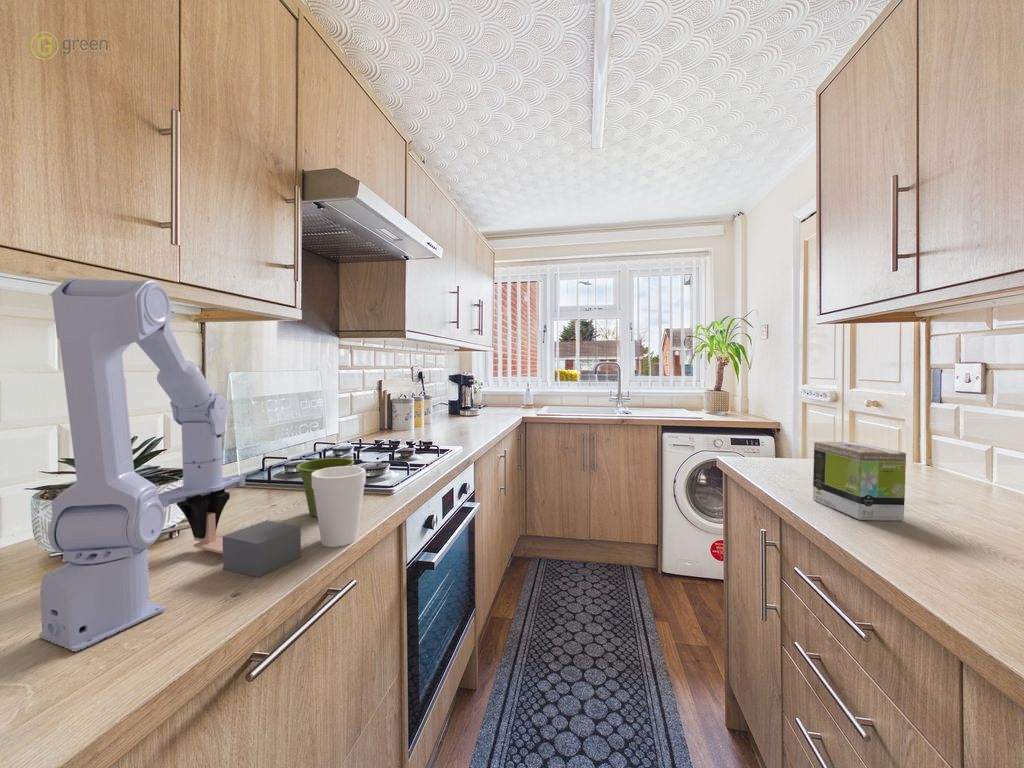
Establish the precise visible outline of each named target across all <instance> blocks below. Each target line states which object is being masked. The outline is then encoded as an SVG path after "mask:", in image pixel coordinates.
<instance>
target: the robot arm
mask: <svg viewBox="0 0 1024 768" xmlns="http://www.w3.org/2000/svg"><path fill="white" fill-rule="evenodd" d="M51 298H52V299H51V300H52V307H53V313H54V314H53V315H54V316H53V317H54V323H55V331H56V338H57V340H59V347H60V354H61V361H62V371H63V379H64V387H65V395H66V403H67V411H68V412H67V413H68V419H69V420H68V421H69V428H70V429H69V430H70V437H71V443H72V452H73V460H74V468H75V477H76V482H74V483H73V484H72V485H70V486H69V487H68V488H66V489H64V490H63V491H62V492H60V493H59V494H58V495H57V496H56V497H55V498H54V499H53V500H52V501H51V502H50V503H51V508H52V509H51V513H52V514H51V519H50V522H49V525H48V530H47V537H48V541H49V545H50V547H51V548H52V549H53V550H54V551H55V552H57V553H59V554H62V558H63V559H62V560H63V562H66V563H65V564H64V565H62V566H61V567H58V568H55V569H54V570H51V571H48V572H47V573H45V574H44V575H43V577H42V579H41V583H40V590H39V591H40V611H41V613H40V614H41V631H40V633H39V634H38V637H39V638H40V637H41V638H40V639H42V638H43V640H45V641H47V640H48V642H49V641H51V642H50V643H52V644H54V643H55V644H54V645H56V644H58V645H57V646H59V645H60V646H59V647H61V646H63V647H65V648H64V649H66V648H68V649H70V650H73V651H74V650H75V652H77V651H76V650H79V651H81V650H83V649H86V648H88V647H89V646H92V645H94V644H97V643H99V642H100V641H103V640H105V639H106V637H107V638H109V637H111V636H114V635H115V634H117V632H118V633H119V631H120V632H121V631H124V630H125V629H128V628H130V627H133V626H135V625H136V624H139V623H141V622H143V621H145V620H147V619H149V618H152V617H153V616H156V615H158V614H160V613H162V612H164V611H165V610H167V607H166V605H164V604H161V603H157V602H154V601H150V580H149V579H150V577H149V547H150V546H152V545H153V544H154V543H155V542H156V540H157V539H158V538H159V536H161V534H162V531H163V530H164V526H165V522H166V511H165V508H168V507H170V505H175V504H176V506H177V507H178V508H179V509H180V511H181V512H182V513H183V515H184V516H185V519H186V521H187V522H188V524H189V528H190V529H191V531H192V532H191V533H192V536H193V538H194V537H195V538H200V539H202V538H205V535H206V516H207V512H212V513H215V524H216V530H217V529H218V524H219V520H220V519H221V515H222V512H223V510H224V508H225V507H226V504H227V503H228V501H229V499H231V495H230V493H231V492H229V491H226V490H228V489H229V490H230V489H233V488H236V487H245V485H246V476H245V475H243V474H235V475H231V476H226V477H225V476H224V477H223V451H222V450H223V448H222V447H223V446H222V445H223V443H222V442H223V441H222V434H223V433H224V432H225V429H226V426H225V425H226V420H227V416H228V410H229V409H228V408H229V407H228V403H227V400H226V398H225V397H224V396H223V395H220V394H219V393H218V392H214V391H213V389H212V388H211V386H210V384H209V383H208V381H207V380H206V378H205V376H204V374H203V373H202V371H201V369H200V368H199V366H198V365H197V364H196V363H195V362H193V361H190V360H186V359H185V358H184V355H183V353H182V350H181V348H180V346H179V344H178V343H177V340H176V338H175V336H174V334H173V331H172V329H171V327H170V322H171V319H172V303H171V300H170V297H169V295H168V293H167V291H166V290H165V288H164V287H163V286H162V285H161V284H160V282H157V281H156V280H153V279H144V280H129V279H128V280H126V279H125V280H124V279H92V278H82V277H70V278H68V279H66V280H63V282H62V283H61V284H59V286H57V287H56V288H55V289H53V291H52V292H51ZM133 343H136V344H137V346H139V348H140V349H141V350H142V351H143V352H144V353H145V355H146V356H147V357H148V358H149V359H150V361H151V362H152V363H153V364H154V365H155V366H156V367H157V368H158V369H159V371H158V372H157V375H156V381H157V383H158V384H159V386H160V387H161V388H162V390H163V391H164V392H165V394H166V395H167V396H168V398H169V399H170V402H169V405H170V407H171V413H172V417H173V421H174V422H175V423H176V424H178V425H180V426H181V449H182V450H181V451H182V452H181V454H182V455H181V456H182V486H179V487H176V488H173V489H170V490H167V491H165V492H160V493H158V490H157V487H158V486H157V485H156V484H155V483H153V482H151V481H150V480H149V479H147V478H145V477H143V476H142V475H140V474H138V473H137V472H135V465H134V456H133V448H132V447H133V445H132V437H131V427H130V416H129V409H128V408H129V407H128V397H127V396H128V395H127V388H126V378H125V368H124V359H123V353H124V351H126V350H127V348H129V346H130V345H132V344H133ZM104 638H105V639H104ZM102 639H103V640H102ZM87 646H88V647H87ZM63 647H62V648H63ZM68 649H67V650H68ZM80 649H81V650H80ZM70 650H69V651H70ZM73 651H72V652H73Z"/></svg>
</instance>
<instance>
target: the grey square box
mask: <svg viewBox="0 0 1024 768" xmlns="http://www.w3.org/2000/svg"><path fill="white" fill-rule="evenodd" d="M301 529H302V528H301V525H297V524H291V523H285V522H280V521H279V522H278V521H274V520H268V519H267V520H264V521H260V522H259V523H255V524H254V525H250V526H247V527H245V528H242V529H239V530H236V531H234V532H231V533H228V534H225V535H223V536H222V537H221V538H223V554H222V568H223V570H227V571H231V572H236V573H240V574H243V575H248V576H251V577H254V578H255V577H256V578H260V577H263V576H264V575H266V574H269V573H271V572H273V571H275V570H277V569H278V568H281V567H283V566H285V565H288V564H290V563H291V562H293V561H296V560H297V559H299V558H301V557H302V544H301V543H302V538H301V537H302V534H301V532H302V531H301Z"/></svg>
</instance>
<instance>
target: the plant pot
mask: <svg viewBox="0 0 1024 768" xmlns="http://www.w3.org/2000/svg"><path fill="white" fill-rule="evenodd" d="M354 464H355V460H354V459H351V458H347V457H325V458H317V459H312V460H311V459H310V460H307V461H304V462H301V463H298V464H297V465H296V469H297V470H298V471H299V474H300V478H301V480H302V484H303V488H304V492H305V493H304V494H305V497H306V498H305V499H306V503H307V508H308V512H309V515H310V517H312V516H313V517H314V518H317V519H318V517H317V510H316V503H315V497H314V490H313V489H312V473H313V472H315V471H316V470H320V469H324V468H330V467H339V466H353V465H354Z"/></svg>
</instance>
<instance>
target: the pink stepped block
mask: <svg viewBox="0 0 1024 768" xmlns="http://www.w3.org/2000/svg"><path fill="white" fill-rule="evenodd" d="M193 539H194V541H196V542H197V541H198V542H197V543H194V544H193V545H192V547H193V548H197V549H200V550H205V551H210V552H214V553H217V554H222V555H223V538H222V537H220V536H217V529H216V524H215V513H212V512H207V516H206V535H205V538H202V539H200V538H195V537H194V536H193Z"/></svg>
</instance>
